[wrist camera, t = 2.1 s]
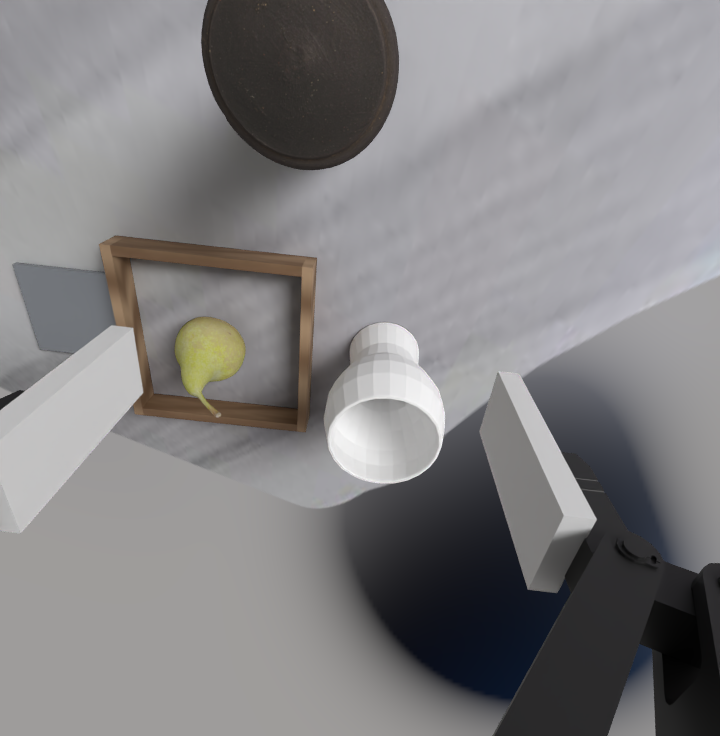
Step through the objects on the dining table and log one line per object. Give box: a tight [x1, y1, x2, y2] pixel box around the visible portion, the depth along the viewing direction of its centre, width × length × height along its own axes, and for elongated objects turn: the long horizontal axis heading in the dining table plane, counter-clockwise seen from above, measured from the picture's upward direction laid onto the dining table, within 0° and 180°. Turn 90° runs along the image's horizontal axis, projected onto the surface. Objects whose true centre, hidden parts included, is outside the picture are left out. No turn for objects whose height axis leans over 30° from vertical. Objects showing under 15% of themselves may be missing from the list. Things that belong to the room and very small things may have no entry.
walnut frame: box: [99, 236, 317, 432], centre depth 48 cm, size 20×20×3 cm
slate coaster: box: [12, 263, 116, 353], centre depth 48 cm, size 10×10×1 cm
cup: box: [324, 323, 445, 484], centre depth 43 cm, size 11×11×15 cm
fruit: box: [175, 317, 245, 418], centre depth 44 cm, size 7×8×12 cm
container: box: [201, 0, 399, 170], centre depth 28 cm, size 9×9×20 cm
